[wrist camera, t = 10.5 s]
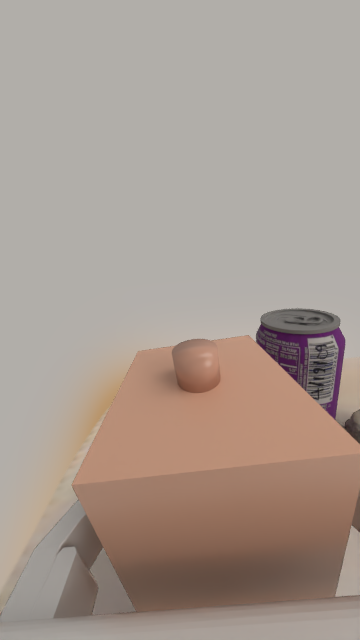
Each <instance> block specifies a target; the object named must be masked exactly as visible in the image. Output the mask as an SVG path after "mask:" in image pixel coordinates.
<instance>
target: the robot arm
mask: <svg viewBox="0 0 360 640" xmlns="http://www.w3.org/2000/svg"><path fill="white" fill-rule="evenodd" d="M351 525H352V526H353V527H355V528H356V529H357V530H358V531H359V532H360V490H359V494H358V498H357V503H356V507H355V511H354V516H353V520H352V524H351ZM102 548H103V546H102V544H101V542H100V540H99V538H98V536H97V534H96V532H95V530H94V528H93V526H92V524H91V522H90V520H89V518H88V516H87V515H86V513H85V511H84V509H83V507H82V505H81V503H80V501H79V499H78V500H77V501H76V503H75V504H74V505H73V506H72V507H71V508H70V509H69V511H68V512H67V513H66V514H65V515H64V516H63V517H62V518H61V520H60V521H59V522H58V523H57V524H56V525H55V526H54V527H53V529H52V530H51V531H50V532H49V533H48V534H47V535H46V537H45V538H44V539H43V540H42V541H41V542H40V543H39V544H38V546H37V547H36V548H35V549H34V551H33V553H32V555H31V557H30V559H29V561H28V563H27V565H26V567H25V569H24V570H23V572H22V574H21V576H20V578H19V580H18V582H17V584H16V586H15V588H14V590H13V592H12V594H11V596H10V597H9V599H8V601H7V603H6V605H5V607H4V609H3V611H2V613H1V615H0V640H360V595H355V596H342V597H328V598H315V599H302V600H289V601H276V602H262V603H249V604H236V605H223V606H209V607H196V608H183V609H170V610H157V611H143V612H130V613H117V614H104V615H92V612H93V608H94V603H95V599H96V595H97V591H98V585H97V582H96V580H95V579H94V577H93V575H92V574H91V572H90V568H91V566H92V565H93V563H94V561H95V560H96V558H97V556H98V554H99V553H100V551H101V549H102Z"/></svg>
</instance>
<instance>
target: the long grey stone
mask: <svg viewBox="0 0 360 640" xmlns="http://www.w3.org/2000/svg"><path fill="white" fill-rule="evenodd" d="M345 428H346V431H347V432H348V433H349V434H350V435H351V436H352V437H353V438H354V439H355V440H356V441H357V442H358V443H359V444H360V409H359V410H358V411H356V412H354V413H353V414H352V416H351V418H350V419H348V420H347V421H346V422H345Z"/></svg>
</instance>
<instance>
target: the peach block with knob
mask: <svg viewBox="0 0 360 640" xmlns="http://www.w3.org/2000/svg"><path fill="white" fill-rule="evenodd" d="M72 487H73V489H74V491H75V493H76V495H77V497H78V499H79V501H80V503H81V505H82V507H83V509H84V511H85V513H86V515H87V516H88V518H89V520H90V522H91V524H92V526H93V528H94V530H95V532H96V534H97V536H98V538H99V540H100V542H101V544H102V546H103V548H104V549H105V551H106V553H107V555H108V557H109V559H110V561H111V563H112V565H113V567H114V569H115V571H116V573H117V575H118V577H119V579H120V581H121V583H122V584H123V586H124V588H125V590H126V592H127V594H128V596H129V598H130V600H131V602H132V604H133V606H134V608H135V610H136V612H143V611H157V610H170V609H183V608H196V607H209V606H223V605H236V604H249V603H262V602H276V601H289V600H302V599H315V598H328V597H335V594H336V589H337V585H338V581H339V576H340V572H341V568H342V563H343V559H344V555H345V550H346V546H347V542H348V537H349V533H350V529H351V524H352V520H353V516H354V511H355V507H356V503H357V498H358V494H359V490H360V444H359V443H358V442H357V441H356V440H355V439H354V438H353V437H352V436H351V435H350V434H349V433H348V432H347V431H346V430H345V429H344V428H343V427H342V426H341V425H340V424H339V423H338V422H337V421H336V420H335V419H334V418H332V417H331V416H330V415H329V414H328V413H327V412H326V411H325V410H324V409H323V408H322V407H321V406H320V405H319V404H318V403H317V402H316V401H315V400H314V399H313V398H312V397H311V396H310V395H309V394H308V393H307V392H306V391H305V390H304V389H303V388H302V387H301V386H300V385H299V384H298V383H297V382H296V381H295V380H294V379H293V378H292V377H291V376H290V375H289V374H288V373H287V372H286V371H285V370H284V369H283V368H282V367H281V366H280V365H279V364H278V363H277V362H275V361H274V360H273V359H272V358H271V357H270V356H269V355H268V354H267V353H266V352H265V351H264V350H263V349H262V348H261V347H260V346H259V345H258V344H257V343H256V342H255V341H254V340H253V339H252V338H251V337H250V336H249V335H246V336H239V337H232V338H226V339H219V340H212V341H210V340H205V339H192V340H187V341H184V342H181V343H179V344H178V345H176V346H170V347H163V348H157V349H149V350H142V351H138V352H137V355H136V357H135V358H134V360H133V362H132V364H131V366H130V368H129V370H128V372H127V375H126V377H125V379H124V381H123V383H122V385H121V387H120V389H119V391H118V393H117V395H116V397H115V399H114V401H113V403H112V405H111V407H110V409H109V411H108V413H107V415H106V417H105V419H104V421H103V423H102V425H101V427H100V429H99V431H98V433H97V435H96V437H95V439H94V441H93V443H92V445H91V447H90V449H89V451H88V453H87V455H86V457H85V459H84V461H83V463H82V465H81V467H80V469H79V471H78V473H77V475H76V477H75V479H74V481H73V483H72Z"/></svg>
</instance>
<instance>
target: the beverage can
mask: <svg viewBox="0 0 360 640" xmlns="http://www.w3.org/2000/svg"><path fill="white" fill-rule="evenodd" d="M339 326H340V318H339V317H338V316H336V315H334V314H332V313H328V312H325V311H320V310H313V309H283V310H276V311H271V312H268V313H266V314H264V315H262V317H261V325H260V327H259V329H258V331H257V334H256V343H257V344H258V345H259V346H260V347H261V348H262V349H263V350H264V351H265V352H266V353H267V354H268V355H269V356H270V357H271V358H272V359H273V360H274V361H275V362H277V363H278V364H279V365H280V366H281V367H282V368H283V369H284V370H285V371H286V372H287V373H288V374H289V375H290V376H291V377H292V378H293V379H294V380H295V381H296V382H297V383H298V384H299V385H300V386H301V387H302V388H303V389H304V390H305V391H306V392H307V393H308V394H309V395H310V396H311V397H312V398H313V399H314V400H315V401H316V402H317V403H318V404H319V405H320V406H321V407H322V408H323V409H324V410H325V411H326V412H327V413H328V414H329V415H330V416H331V417H332V418H334V419H335V416H336V409H337V401H338V394H339V387H340V379H341V372H342V364H343V356H344V350H345V338H344V336H343V334H342V332H341V330H340V328H339Z"/></svg>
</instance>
